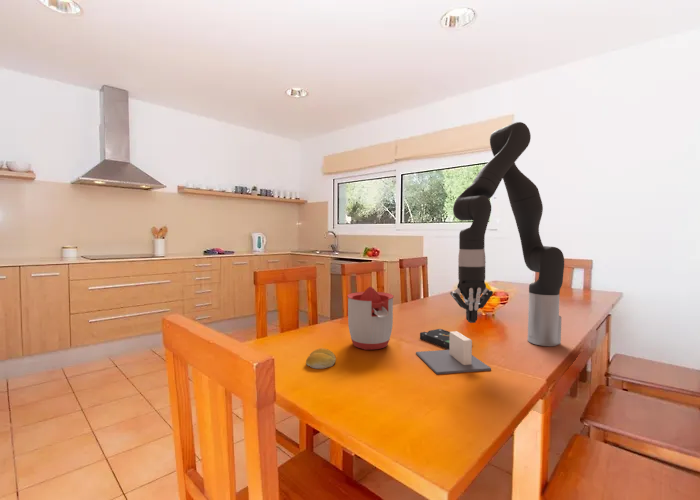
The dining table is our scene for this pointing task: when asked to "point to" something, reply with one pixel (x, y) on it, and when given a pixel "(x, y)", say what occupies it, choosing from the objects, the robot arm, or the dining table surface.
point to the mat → (449, 362)
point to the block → (460, 348)
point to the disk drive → (437, 337)
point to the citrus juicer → (370, 318)
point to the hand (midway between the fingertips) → (471, 322)
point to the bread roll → (321, 359)
